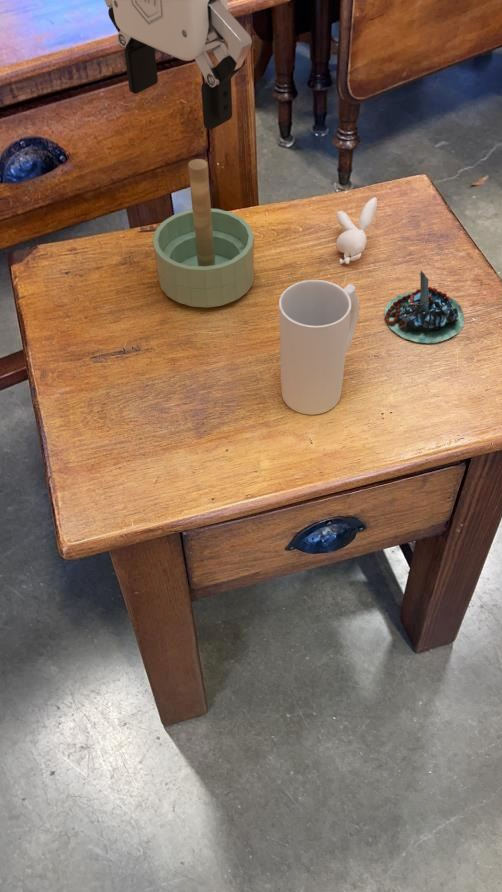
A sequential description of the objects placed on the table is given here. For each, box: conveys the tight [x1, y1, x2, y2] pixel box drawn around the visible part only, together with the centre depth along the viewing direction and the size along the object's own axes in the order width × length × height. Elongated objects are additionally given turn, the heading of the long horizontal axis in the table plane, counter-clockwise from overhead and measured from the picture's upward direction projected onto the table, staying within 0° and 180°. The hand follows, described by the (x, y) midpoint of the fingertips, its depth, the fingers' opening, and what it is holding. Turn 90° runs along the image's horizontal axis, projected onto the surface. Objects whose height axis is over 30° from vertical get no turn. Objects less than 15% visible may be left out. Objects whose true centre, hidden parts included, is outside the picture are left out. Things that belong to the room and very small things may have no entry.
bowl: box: [152, 208, 256, 308], centre depth 95 cm, size 11×11×6 cm
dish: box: [383, 270, 465, 344], centre depth 94 cm, size 8×7×8 cm
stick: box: [187, 158, 215, 267], centre depth 91 cm, size 2×2×14 cm
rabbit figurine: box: [335, 196, 378, 266], centre depth 100 cm, size 6×4×8 cm
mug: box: [278, 279, 360, 416], centre depth 83 cm, size 10×7×12 cm, turn 136°
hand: (180, 105), depth 78 cm, fingers open, 9 cm apart
